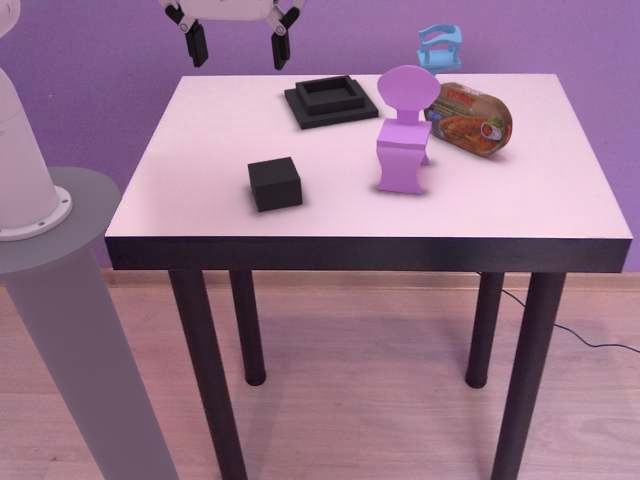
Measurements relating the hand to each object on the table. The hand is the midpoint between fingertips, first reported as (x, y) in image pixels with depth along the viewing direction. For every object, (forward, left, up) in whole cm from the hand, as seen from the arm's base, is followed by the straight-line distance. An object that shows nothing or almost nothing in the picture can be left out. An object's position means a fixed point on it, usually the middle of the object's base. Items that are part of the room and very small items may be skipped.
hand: (241, 64), depth 72 cm
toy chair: (+20, -1, -19) cm, 28 cm away
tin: (+32, +5, -19) cm, 38 cm away
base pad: (+16, +24, -19) cm, 34 cm away
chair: (+34, +21, -19) cm, 44 cm away
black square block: (+2, 0, -19) cm, 19 cm away
